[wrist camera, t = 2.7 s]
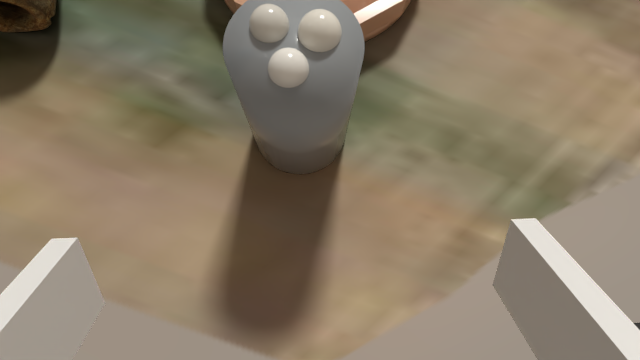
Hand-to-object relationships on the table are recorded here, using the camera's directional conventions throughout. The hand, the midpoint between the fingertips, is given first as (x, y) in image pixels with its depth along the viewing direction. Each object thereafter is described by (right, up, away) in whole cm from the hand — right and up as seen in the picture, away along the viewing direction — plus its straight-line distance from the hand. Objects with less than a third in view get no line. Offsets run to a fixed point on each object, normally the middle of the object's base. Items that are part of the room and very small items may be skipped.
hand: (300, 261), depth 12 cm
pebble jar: (-1, +6, +17) cm, 19 cm away
